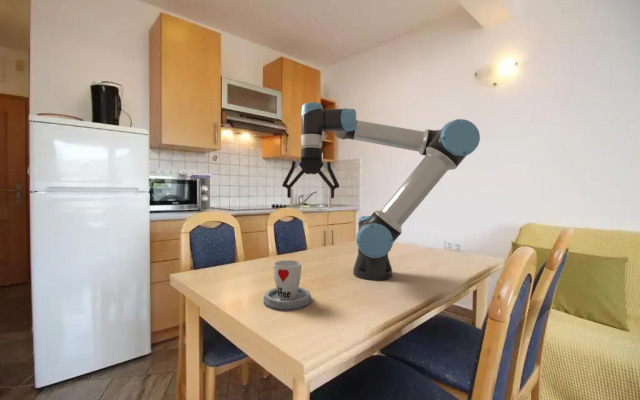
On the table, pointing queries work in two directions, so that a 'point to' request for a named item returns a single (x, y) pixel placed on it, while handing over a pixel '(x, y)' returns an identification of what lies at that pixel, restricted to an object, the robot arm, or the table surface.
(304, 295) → the tray
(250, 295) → the table surface
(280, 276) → the cup
